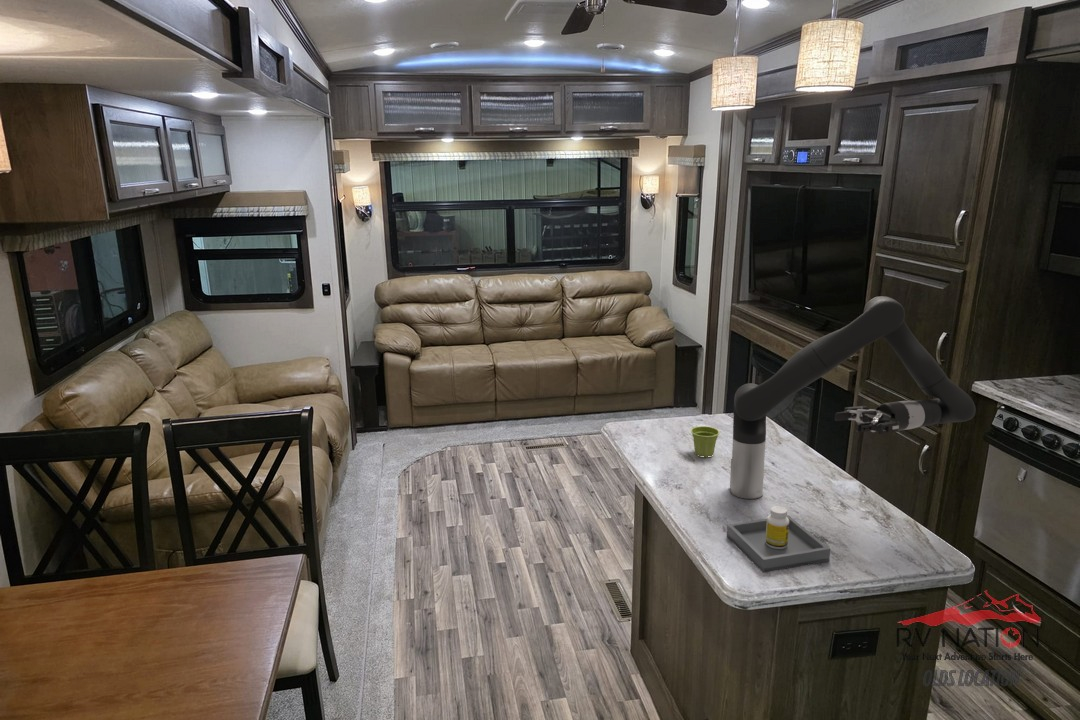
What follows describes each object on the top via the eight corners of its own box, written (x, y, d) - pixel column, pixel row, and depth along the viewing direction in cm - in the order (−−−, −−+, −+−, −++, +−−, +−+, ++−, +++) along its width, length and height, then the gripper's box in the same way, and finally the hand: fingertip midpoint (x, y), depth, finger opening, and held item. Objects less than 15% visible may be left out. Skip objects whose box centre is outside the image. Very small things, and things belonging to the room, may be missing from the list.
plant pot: (722, 452, 239) (723, 428, 236) (713, 462, 231) (713, 437, 229) (696, 447, 243) (696, 424, 241) (686, 457, 236) (686, 433, 234)
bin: (726, 536, 184) (727, 524, 183) (787, 527, 188) (788, 515, 187) (763, 572, 167) (763, 559, 166) (829, 561, 171) (830, 548, 170)
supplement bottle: (788, 550, 174) (791, 515, 172) (766, 549, 176) (768, 513, 173) (786, 540, 180) (788, 505, 177) (764, 538, 181) (766, 503, 178)
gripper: (882, 394, 188) (829, 400, 185) (922, 410, 175) (865, 417, 171) (880, 420, 190) (827, 426, 187) (918, 438, 177) (863, 446, 173)
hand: (845, 422), depth 179 cm, fingers open, 8 cm apart
